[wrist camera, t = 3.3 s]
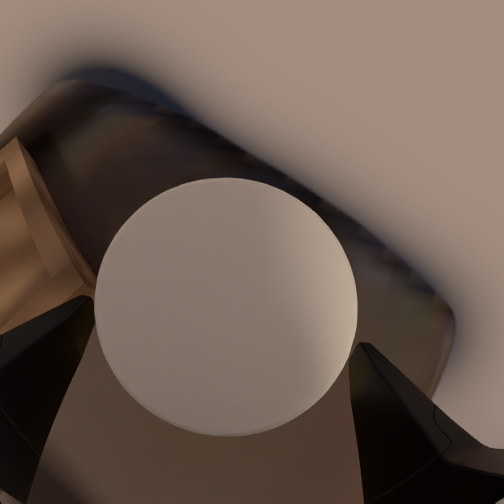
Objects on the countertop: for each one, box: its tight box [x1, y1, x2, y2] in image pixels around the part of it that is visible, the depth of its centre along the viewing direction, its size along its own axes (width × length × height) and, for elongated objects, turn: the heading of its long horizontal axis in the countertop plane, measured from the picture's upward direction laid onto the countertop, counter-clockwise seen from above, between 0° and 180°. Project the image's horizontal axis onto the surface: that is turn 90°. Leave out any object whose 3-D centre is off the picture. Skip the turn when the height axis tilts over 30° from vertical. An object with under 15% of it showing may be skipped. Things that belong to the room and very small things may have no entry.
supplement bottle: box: [94, 178, 357, 436], centre depth 11 cm, size 7×7×13 cm
